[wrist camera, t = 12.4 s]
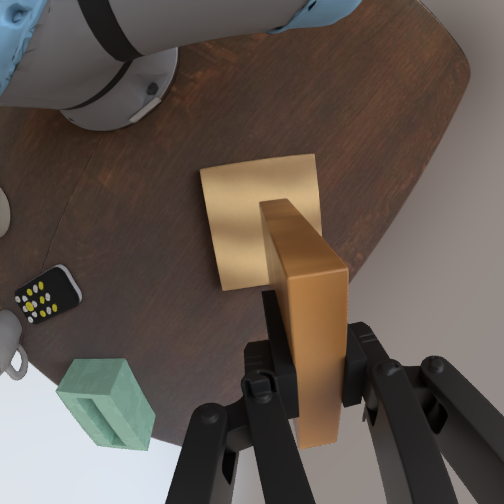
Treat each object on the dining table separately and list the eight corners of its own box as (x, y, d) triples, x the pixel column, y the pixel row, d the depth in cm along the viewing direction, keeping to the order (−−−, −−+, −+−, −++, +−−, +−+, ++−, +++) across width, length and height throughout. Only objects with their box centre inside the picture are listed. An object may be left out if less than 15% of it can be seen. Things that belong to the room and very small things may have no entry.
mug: (-11, 312, 36) (-40, 341, 27) (4, 291, 35) (-29, 321, 26) (29, 362, 40) (6, 395, 31) (49, 347, 39) (23, 384, 30)
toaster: (112, 418, 45) (101, 450, 37) (74, 358, 39) (55, 391, 32) (158, 420, 45) (151, 455, 37) (125, 357, 39) (109, 395, 32)
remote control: (87, 298, 36) (81, 305, 34) (36, 321, 37) (30, 328, 35) (64, 259, 33) (57, 265, 32) (16, 289, 35) (9, 294, 33)
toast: (274, 324, 24) (299, 450, 12) (258, 201, 20) (286, 278, 9) (298, 320, 24) (337, 442, 12) (287, 197, 20) (349, 267, 9)
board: (201, 168, 31) (199, 169, 29) (311, 153, 31) (314, 153, 29) (223, 285, 36) (222, 291, 34) (320, 270, 36) (324, 275, 34)
